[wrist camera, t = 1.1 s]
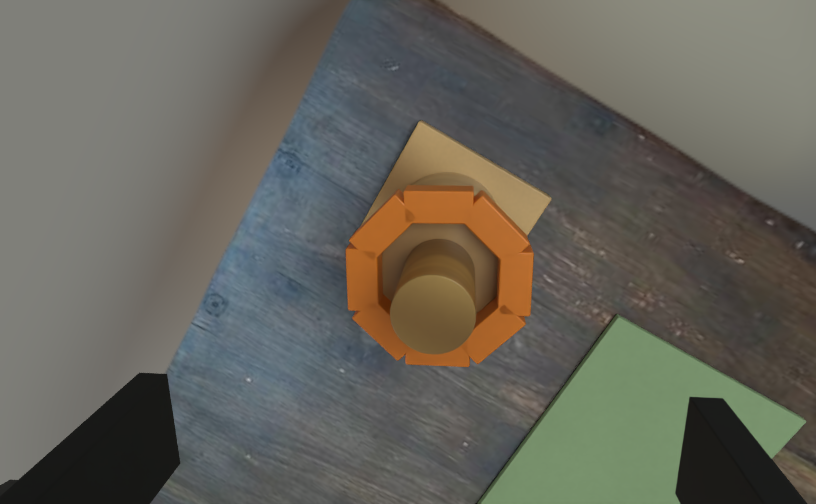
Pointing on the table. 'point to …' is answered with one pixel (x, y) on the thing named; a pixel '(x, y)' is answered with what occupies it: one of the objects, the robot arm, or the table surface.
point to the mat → (627, 425)
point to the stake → (446, 243)
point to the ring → (441, 209)
